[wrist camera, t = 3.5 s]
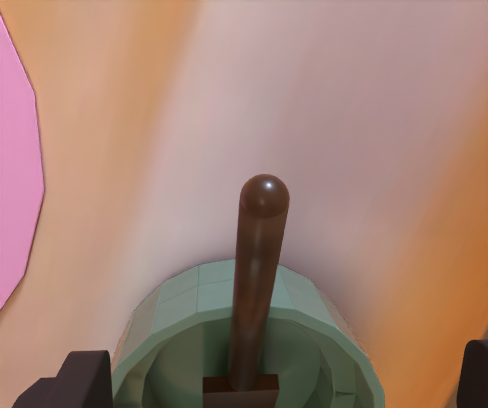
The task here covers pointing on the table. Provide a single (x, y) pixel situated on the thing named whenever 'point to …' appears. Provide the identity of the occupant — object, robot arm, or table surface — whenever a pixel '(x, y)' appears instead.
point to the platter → (17, 168)
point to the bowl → (218, 337)
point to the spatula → (252, 297)
